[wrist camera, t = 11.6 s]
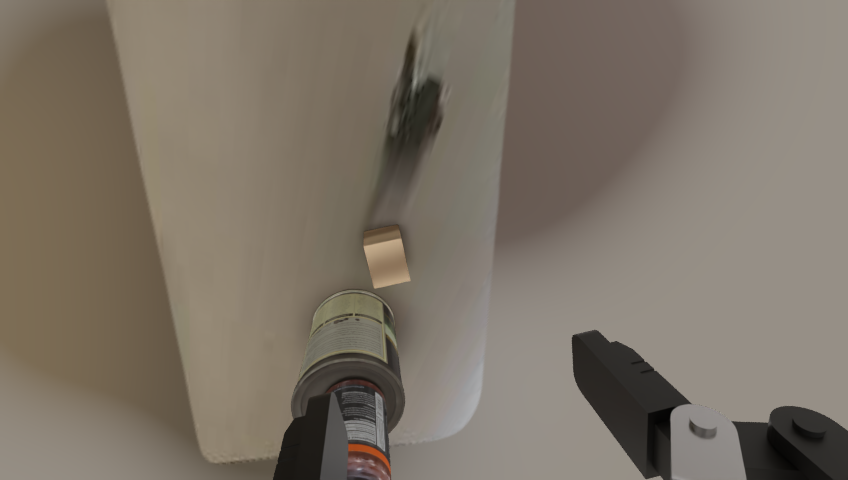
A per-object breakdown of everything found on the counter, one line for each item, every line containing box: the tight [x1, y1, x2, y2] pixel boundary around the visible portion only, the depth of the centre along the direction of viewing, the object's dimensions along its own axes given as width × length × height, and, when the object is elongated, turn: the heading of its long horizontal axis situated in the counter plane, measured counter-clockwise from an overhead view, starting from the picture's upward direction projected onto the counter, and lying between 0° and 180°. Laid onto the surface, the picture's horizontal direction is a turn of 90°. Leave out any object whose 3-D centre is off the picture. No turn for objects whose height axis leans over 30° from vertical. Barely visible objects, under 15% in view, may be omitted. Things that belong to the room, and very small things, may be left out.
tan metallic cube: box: [364, 225, 410, 289], centre depth 44 cm, size 5×4×5 cm
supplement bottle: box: [326, 379, 391, 480], centre depth 30 cm, size 6×6×11 cm
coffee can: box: [291, 290, 405, 434], centre depth 42 cm, size 10×10×14 cm
